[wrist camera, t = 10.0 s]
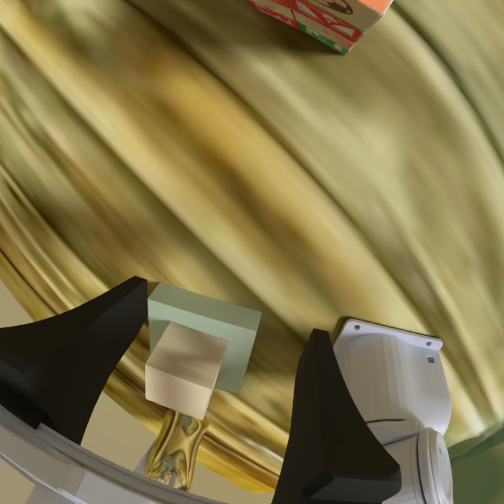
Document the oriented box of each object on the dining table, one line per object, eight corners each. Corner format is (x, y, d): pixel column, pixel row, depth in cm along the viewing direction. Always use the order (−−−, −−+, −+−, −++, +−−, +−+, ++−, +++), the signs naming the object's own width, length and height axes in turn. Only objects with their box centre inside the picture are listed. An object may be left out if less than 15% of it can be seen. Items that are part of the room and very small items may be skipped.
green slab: (263, 307, 26) (256, 331, 24) (245, 371, 31) (239, 394, 29) (162, 278, 27) (147, 298, 25) (162, 346, 32) (151, 366, 29)
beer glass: (157, 414, 39) (116, 502, 26) (171, 396, 36) (124, 499, 23) (201, 436, 40) (168, 525, 27) (221, 421, 36) (186, 524, 23)
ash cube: (228, 341, 25) (211, 389, 21) (218, 376, 28) (202, 420, 23) (170, 320, 25) (145, 364, 21) (167, 357, 28) (145, 398, 24)
